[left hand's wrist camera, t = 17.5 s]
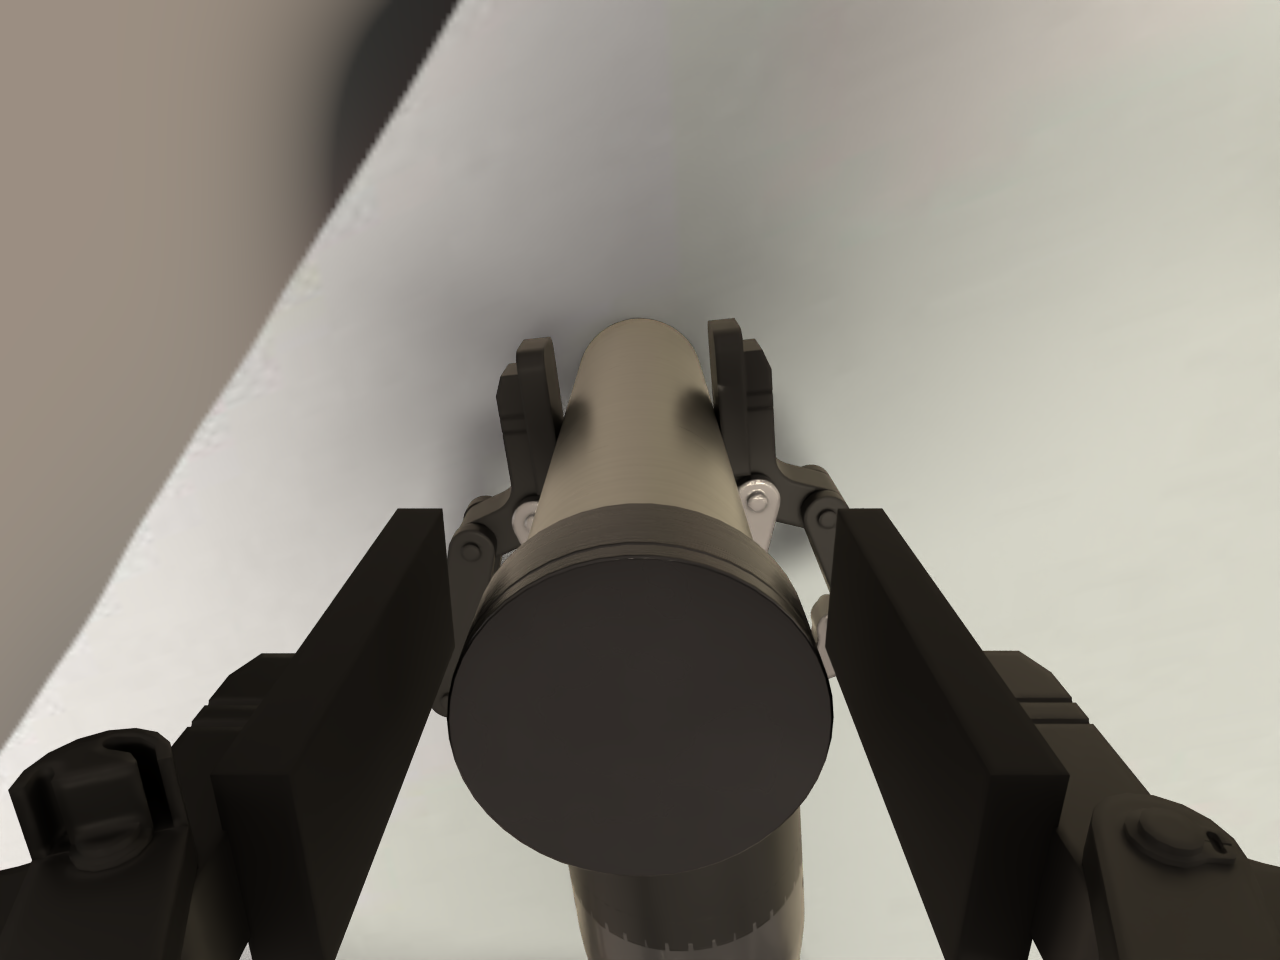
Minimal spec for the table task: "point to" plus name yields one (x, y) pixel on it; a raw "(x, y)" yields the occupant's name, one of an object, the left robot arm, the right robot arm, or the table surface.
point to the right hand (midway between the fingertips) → (627, 337)
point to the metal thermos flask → (640, 432)
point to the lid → (640, 693)
